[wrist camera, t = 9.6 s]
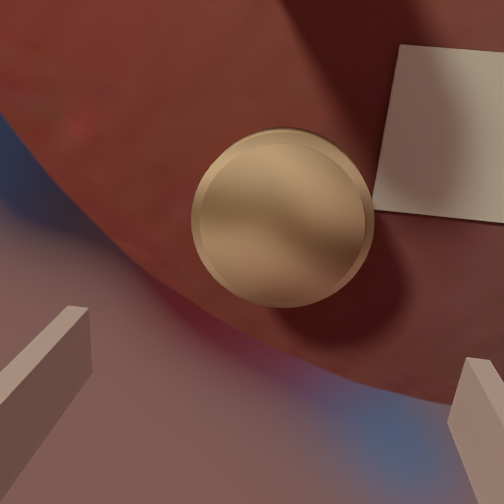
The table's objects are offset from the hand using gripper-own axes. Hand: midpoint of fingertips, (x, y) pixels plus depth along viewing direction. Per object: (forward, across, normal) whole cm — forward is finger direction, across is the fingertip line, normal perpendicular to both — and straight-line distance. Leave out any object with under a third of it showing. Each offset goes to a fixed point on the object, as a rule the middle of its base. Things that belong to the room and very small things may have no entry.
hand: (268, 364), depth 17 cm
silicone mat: (+24, -12, -6) cm, 27 cm away
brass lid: (+18, 0, 0) cm, 18 cm away
